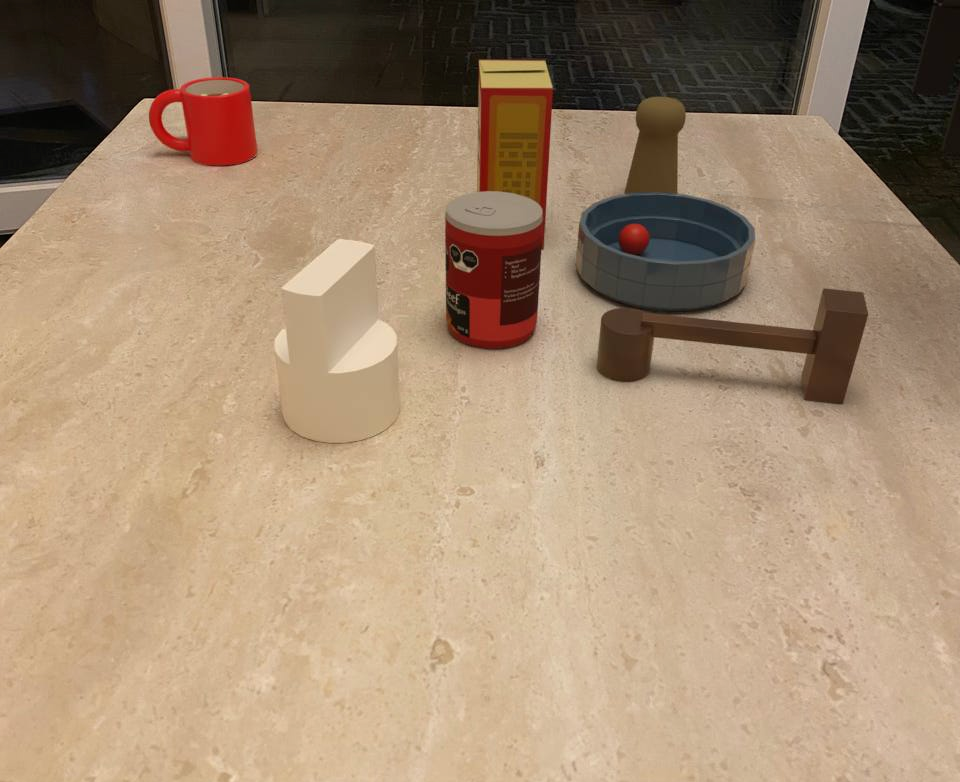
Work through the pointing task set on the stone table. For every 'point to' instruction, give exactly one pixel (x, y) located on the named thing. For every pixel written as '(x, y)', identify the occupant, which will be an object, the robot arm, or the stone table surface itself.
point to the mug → (210, 120)
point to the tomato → (634, 239)
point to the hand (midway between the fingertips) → (944, 121)
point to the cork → (656, 146)
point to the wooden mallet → (744, 341)
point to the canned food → (492, 268)
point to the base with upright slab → (337, 349)
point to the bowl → (665, 251)
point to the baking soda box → (514, 128)
